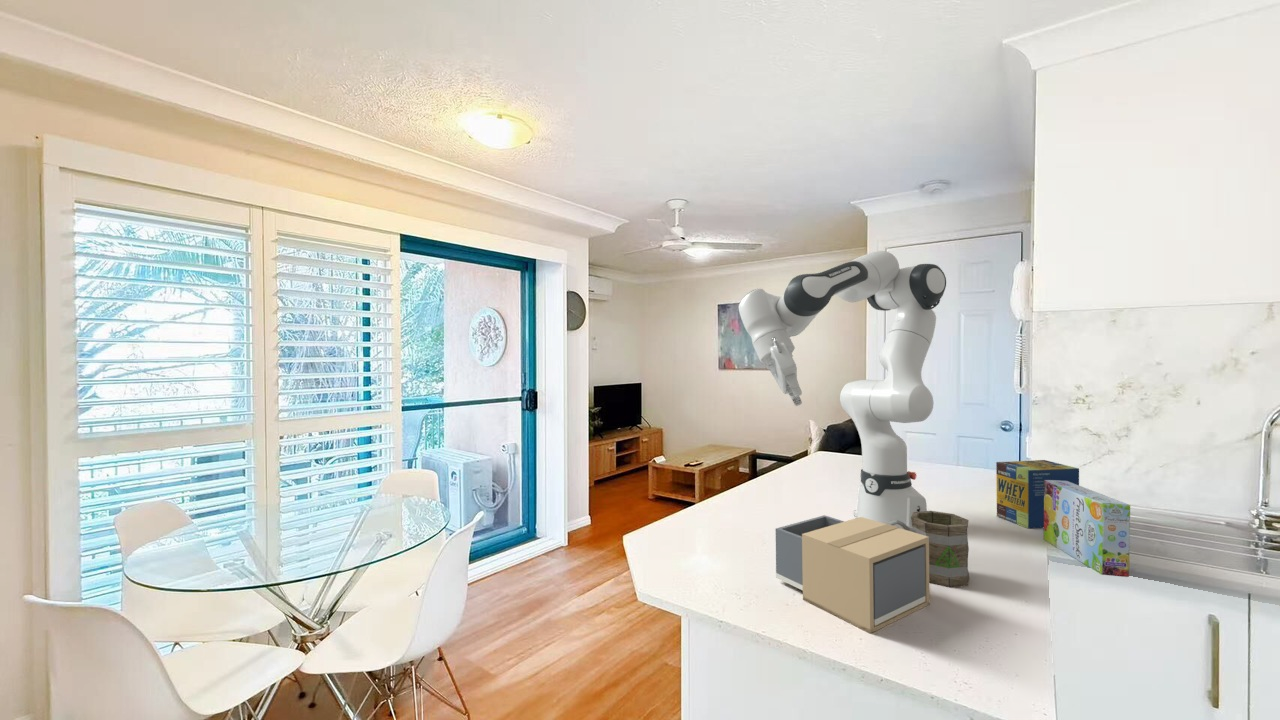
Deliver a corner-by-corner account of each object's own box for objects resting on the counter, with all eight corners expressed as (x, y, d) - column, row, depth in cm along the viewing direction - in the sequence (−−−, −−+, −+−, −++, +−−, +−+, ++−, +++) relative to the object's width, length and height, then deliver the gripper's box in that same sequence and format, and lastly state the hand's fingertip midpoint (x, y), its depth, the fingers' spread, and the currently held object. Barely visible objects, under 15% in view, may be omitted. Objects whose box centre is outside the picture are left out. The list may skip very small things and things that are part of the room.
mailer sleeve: (861, 576, 105) (861, 516, 105) (929, 603, 94) (929, 536, 93) (802, 599, 96) (801, 533, 96) (870, 633, 84) (869, 558, 84)
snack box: (1133, 578, 103) (1132, 504, 103) (1101, 576, 104) (1100, 503, 104) (1067, 540, 124) (1067, 479, 124) (1041, 539, 125) (1041, 478, 125)
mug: (959, 567, 109) (958, 512, 109) (980, 590, 99) (980, 528, 99) (880, 561, 113) (879, 508, 113) (893, 583, 102) (892, 524, 102)
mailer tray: (825, 560, 112) (824, 515, 111) (925, 601, 93) (924, 546, 93) (776, 577, 104) (775, 528, 103) (875, 625, 85) (874, 565, 85)
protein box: (995, 516, 142) (995, 461, 142) (1045, 513, 144) (1044, 459, 144) (1028, 529, 132) (1027, 469, 132) (1081, 526, 134) (1080, 467, 134)
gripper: (786, 328, 114) (812, 383, 108) (788, 357, 132) (810, 404, 127) (759, 339, 115) (784, 394, 109) (765, 366, 133) (786, 414, 128)
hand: (798, 400), depth 118 cm, fingers open, 8 cm apart
